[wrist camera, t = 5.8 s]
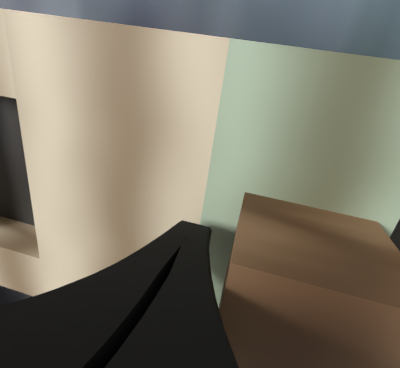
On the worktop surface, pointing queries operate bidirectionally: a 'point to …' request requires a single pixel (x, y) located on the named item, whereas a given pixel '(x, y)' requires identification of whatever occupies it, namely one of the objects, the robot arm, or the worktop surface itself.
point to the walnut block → (310, 289)
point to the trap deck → (176, 140)
